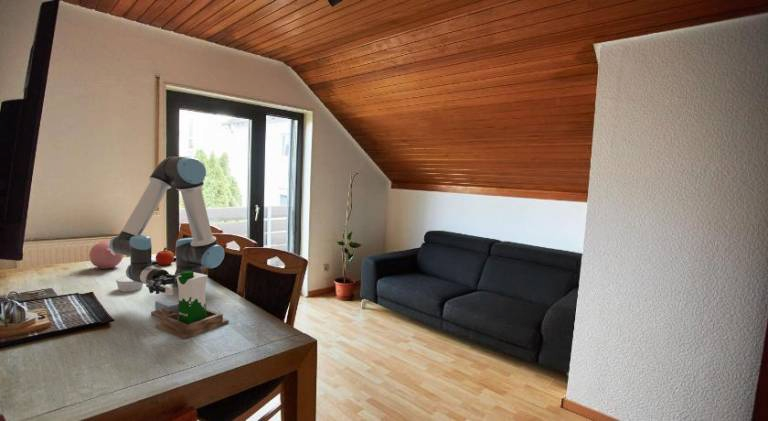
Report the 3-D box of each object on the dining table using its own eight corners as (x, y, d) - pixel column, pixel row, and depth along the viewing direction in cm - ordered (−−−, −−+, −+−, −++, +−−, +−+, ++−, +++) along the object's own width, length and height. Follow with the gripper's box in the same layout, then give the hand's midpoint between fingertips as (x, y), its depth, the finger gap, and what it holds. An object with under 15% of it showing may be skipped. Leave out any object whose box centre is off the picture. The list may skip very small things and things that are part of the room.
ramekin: (147, 289, 184) (147, 278, 183) (119, 294, 175) (119, 283, 175) (140, 284, 191) (140, 273, 191) (113, 288, 183) (113, 277, 182)
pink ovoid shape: (95, 275, 201) (94, 246, 199) (86, 267, 214) (85, 240, 212) (129, 270, 212) (129, 243, 211) (119, 263, 226) (118, 237, 224)
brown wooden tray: (180, 305, 165) (180, 296, 165) (228, 322, 150) (228, 312, 150) (136, 318, 150) (136, 308, 149) (184, 339, 134) (184, 327, 134)
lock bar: (164, 306, 159) (163, 298, 159) (178, 312, 154) (178, 303, 154) (155, 309, 156) (155, 301, 155) (169, 315, 151) (169, 306, 151)
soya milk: (174, 323, 144) (173, 271, 142) (195, 315, 153) (194, 266, 150) (190, 328, 141) (189, 275, 138) (211, 320, 149) (210, 269, 147)
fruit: (151, 265, 224) (151, 248, 222) (163, 262, 233) (163, 245, 232) (166, 267, 222) (166, 250, 221) (177, 263, 231) (177, 247, 230)
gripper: (184, 279, 168) (216, 288, 158) (123, 294, 147) (156, 306, 137) (183, 262, 168) (216, 270, 158) (122, 275, 146) (156, 285, 136)
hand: (188, 286), depth 147 cm, fingers open, 13 cm apart
